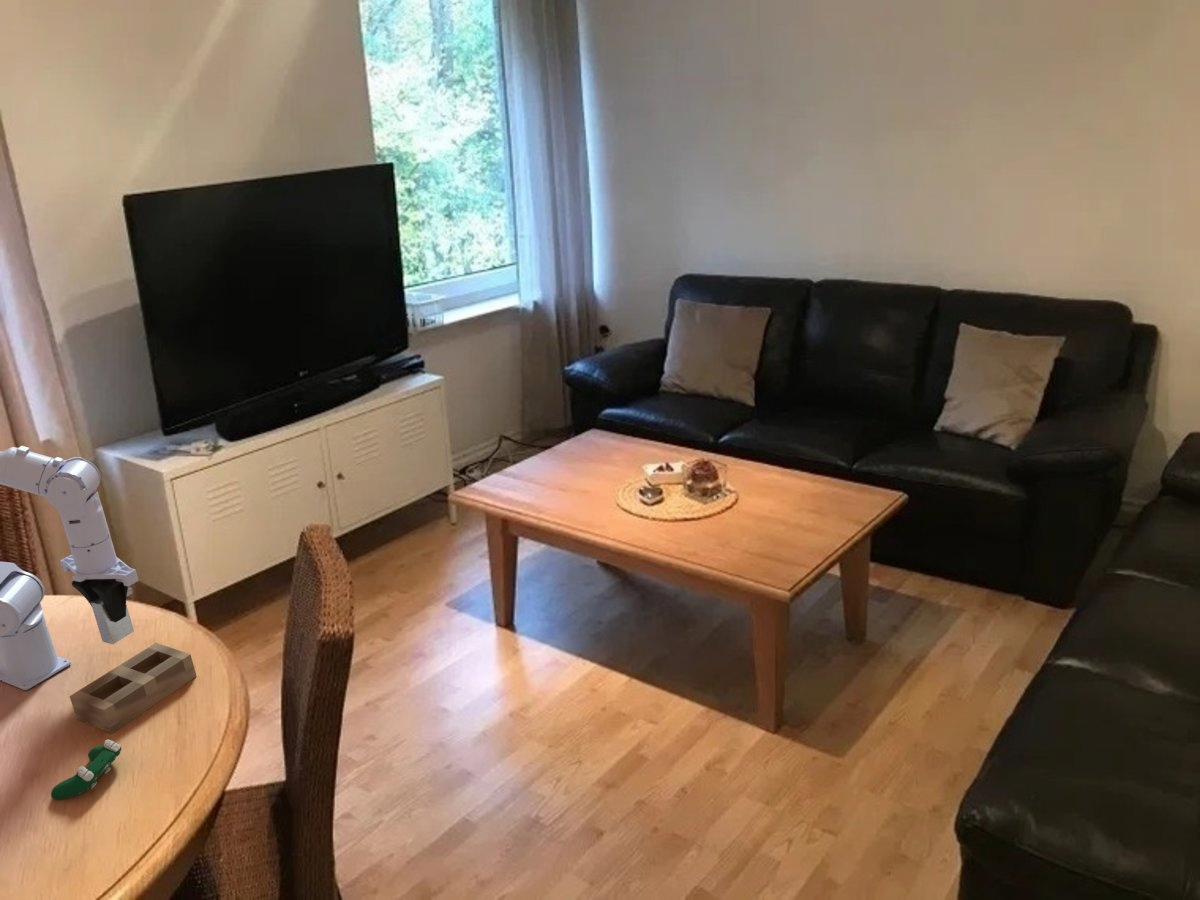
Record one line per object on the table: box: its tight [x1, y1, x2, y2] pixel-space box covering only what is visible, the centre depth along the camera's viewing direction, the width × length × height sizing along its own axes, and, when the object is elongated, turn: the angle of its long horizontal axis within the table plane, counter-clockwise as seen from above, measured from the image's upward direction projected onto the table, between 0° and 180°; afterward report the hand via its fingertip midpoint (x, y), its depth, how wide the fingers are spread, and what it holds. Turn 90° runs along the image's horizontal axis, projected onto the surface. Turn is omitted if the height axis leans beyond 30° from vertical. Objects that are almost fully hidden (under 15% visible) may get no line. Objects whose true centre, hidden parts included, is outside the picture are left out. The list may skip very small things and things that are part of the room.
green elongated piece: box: [50, 739, 122, 800], centre depth 140 cm, size 9×4×6 cm
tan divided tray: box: [69, 642, 197, 734], centre depth 157 cm, size 8×15×4 cm, turn 149°
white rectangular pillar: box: [90, 586, 135, 645], centre depth 164 cm, size 2×6×7 cm, turn 153°
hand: (112, 617), depth 163 cm, fingers closed on white rectangular pillar, 2 cm apart
